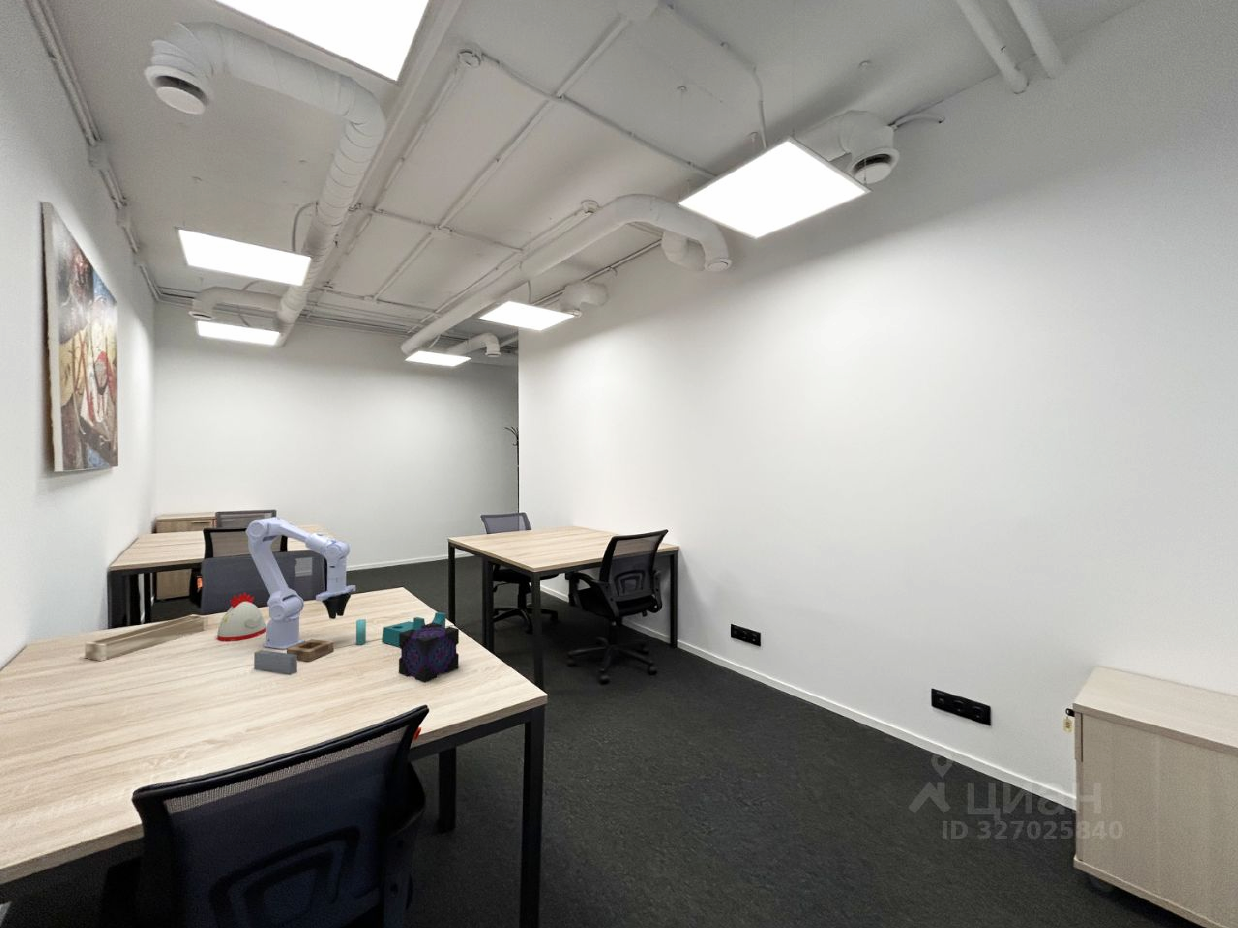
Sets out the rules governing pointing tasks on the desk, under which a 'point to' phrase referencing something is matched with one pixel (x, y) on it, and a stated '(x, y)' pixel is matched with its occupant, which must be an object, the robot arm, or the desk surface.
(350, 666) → the desk surface
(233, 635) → the kitchen timer
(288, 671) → the wall
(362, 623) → the dowel
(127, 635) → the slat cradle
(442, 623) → the teal l-shaped bracket
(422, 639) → the energy cube
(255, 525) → the robot arm
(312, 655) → the socket block
